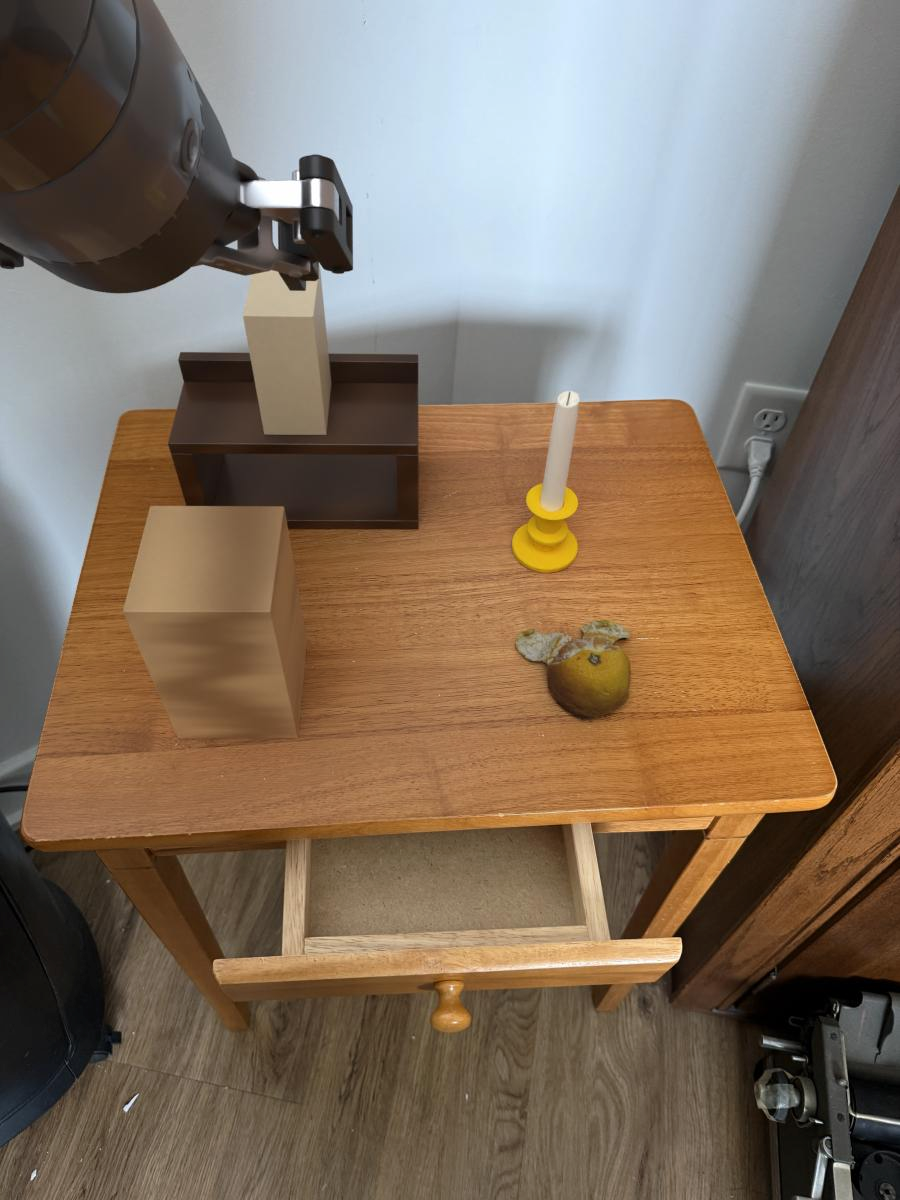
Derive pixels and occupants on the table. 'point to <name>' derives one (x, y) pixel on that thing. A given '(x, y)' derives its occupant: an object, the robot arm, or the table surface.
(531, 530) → the candle
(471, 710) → the table surface
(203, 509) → the block
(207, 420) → the shelf
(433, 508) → the table surface
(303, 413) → the snack box
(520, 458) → the table surface
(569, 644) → the fruit
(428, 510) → the table surface
